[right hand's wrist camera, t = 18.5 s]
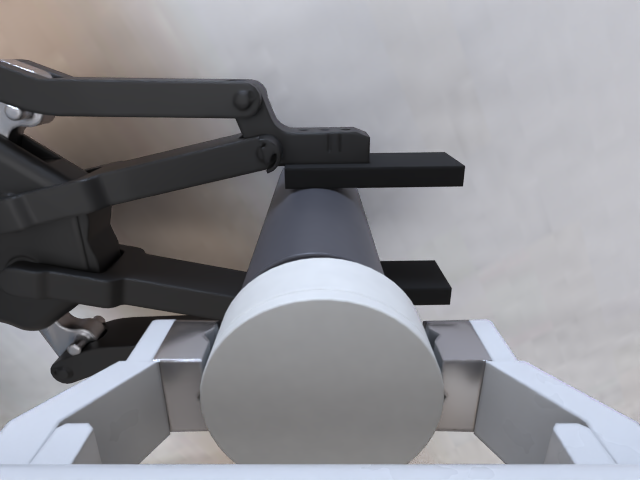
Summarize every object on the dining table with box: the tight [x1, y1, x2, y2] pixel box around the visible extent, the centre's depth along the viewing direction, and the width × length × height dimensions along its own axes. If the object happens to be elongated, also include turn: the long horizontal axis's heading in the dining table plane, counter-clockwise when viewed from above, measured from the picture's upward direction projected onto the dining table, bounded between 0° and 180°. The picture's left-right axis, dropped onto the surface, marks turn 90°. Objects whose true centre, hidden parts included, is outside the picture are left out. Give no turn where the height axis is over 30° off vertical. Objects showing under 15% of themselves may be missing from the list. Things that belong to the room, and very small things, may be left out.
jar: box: [241, 169, 384, 290], centre depth 17 cm, size 4×4×15 cm
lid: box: [200, 258, 444, 464], centre depth 9 cm, size 5×5×2 cm
